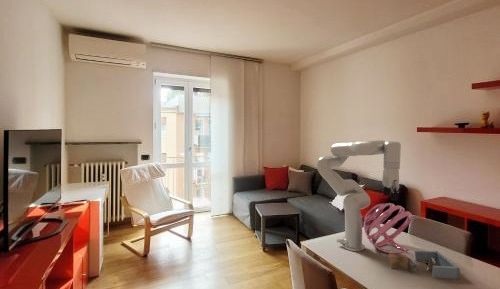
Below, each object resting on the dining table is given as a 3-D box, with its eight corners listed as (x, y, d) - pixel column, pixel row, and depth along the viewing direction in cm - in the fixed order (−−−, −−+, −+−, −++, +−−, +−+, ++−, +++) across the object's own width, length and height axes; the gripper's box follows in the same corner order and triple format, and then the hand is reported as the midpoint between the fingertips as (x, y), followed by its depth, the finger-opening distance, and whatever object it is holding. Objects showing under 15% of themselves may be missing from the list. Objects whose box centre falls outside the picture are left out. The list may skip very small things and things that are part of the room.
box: (433, 277, 123) (433, 267, 123) (414, 259, 141) (414, 250, 140) (459, 278, 122) (459, 268, 122) (437, 260, 139) (437, 251, 139)
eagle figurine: (415, 264, 134) (426, 270, 125) (422, 252, 134) (433, 257, 125) (429, 273, 133) (441, 279, 124) (436, 260, 133) (448, 266, 124)
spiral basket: (439, 223, 139) (396, 187, 157) (402, 245, 129) (361, 204, 148) (416, 250, 157) (381, 215, 176) (382, 271, 147) (348, 231, 166)
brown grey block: (394, 272, 128) (394, 260, 128) (385, 261, 139) (385, 250, 139) (416, 273, 127) (416, 261, 127) (405, 262, 138) (405, 250, 138)
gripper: (377, 162, 145) (376, 193, 147) (390, 167, 128) (389, 202, 129) (392, 163, 144) (391, 193, 146) (407, 168, 127) (405, 202, 129)
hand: (390, 197), depth 138 cm, fingers open, 9 cm apart
